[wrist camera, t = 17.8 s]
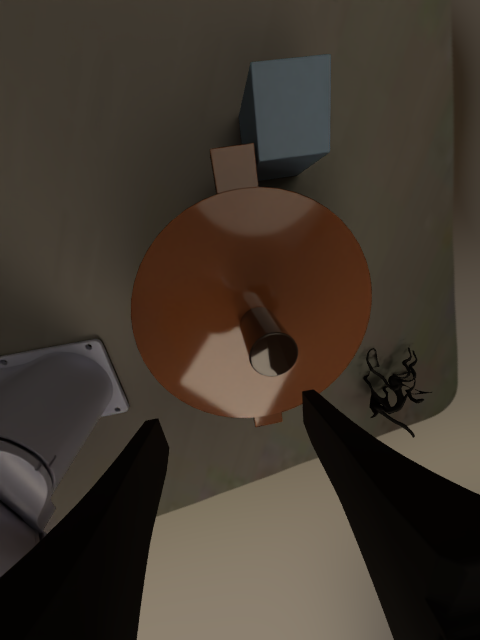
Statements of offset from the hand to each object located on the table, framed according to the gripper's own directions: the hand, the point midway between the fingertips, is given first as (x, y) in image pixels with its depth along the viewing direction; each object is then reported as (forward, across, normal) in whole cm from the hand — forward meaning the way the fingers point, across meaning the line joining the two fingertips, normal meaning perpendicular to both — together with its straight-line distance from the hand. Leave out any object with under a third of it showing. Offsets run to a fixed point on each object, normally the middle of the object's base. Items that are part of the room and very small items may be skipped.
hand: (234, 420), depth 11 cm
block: (+11, -6, -14) cm, 18 cm away
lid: (+5, -2, -3) cm, 6 cm away
